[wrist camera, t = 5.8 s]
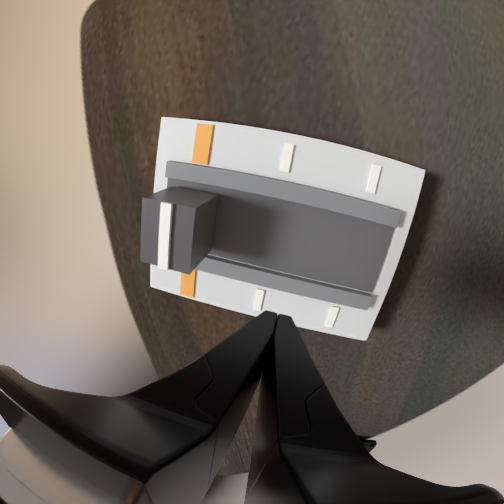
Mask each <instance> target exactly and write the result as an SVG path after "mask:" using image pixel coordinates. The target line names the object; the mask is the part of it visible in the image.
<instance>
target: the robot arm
mask: <svg viewBox="0 0 504 504" xmlns="http://www.w3.org/2000/svg"><path fill="white" fill-rule="evenodd" d="M264 365H265V366H264ZM262 372H263V373H262ZM261 376H262V378H261ZM260 379H261V384H260V392H259V400H258V408H257V416H256V424H255V431H254V439H253V446H252V454H251V461H250V468H249V475H248V482H247V488H246V496H245V502H244V504H503V503H504V497H503V496H502V494H500V493H499V492H498V491H497V490H496V489H494V488H491V487H489V486H486V485H484V484H474V485H469V486H463V487H450V486H443V485H439V484H435V483H432V482H429V481H426V480H423V479H420V478H417V477H414V476H411V475H408V474H406V473H403V472H400V471H398V470H395V469H392V468H390V467H387V466H385V465H383V464H381V463H380V462H378V461H377V460H376V459H374V458H373V457H372V456H371V454H370V453H369V452H370V451H371V450H372V449H373V448H374V447H375V446H376V441H375V440H364V439H359V438H358V437H357V435H356V434H355V432H354V431H353V429H352V428H351V427H350V425H349V424H348V422H347V421H346V419H345V418H344V416H343V415H342V413H341V411H340V410H339V408H338V407H337V405H336V403H335V401H334V400H333V398H332V396H331V394H330V392H329V390H328V388H327V386H326V385H325V382H324V380H323V379H322V377H321V375H320V373H319V371H318V369H317V367H316V365H315V363H314V361H313V359H312V357H311V355H310V353H309V351H308V349H307V347H306V345H305V343H304V341H303V339H302V337H301V335H300V333H299V331H298V329H297V327H296V325H295V323H294V321H293V319H292V317H291V316H288V315H284V314H278V315H277V313H275V312H271V311H267V310H265V311H264V312H262V313H261V314H259V315H258V316H257V317H255V318H254V319H253V320H251V321H250V322H249V323H247V324H246V325H244V326H243V327H242V328H240V329H239V330H238V331H236V332H235V333H233V334H232V335H231V336H229V337H228V338H226V339H225V340H223V341H222V342H221V343H219V344H218V345H216V346H215V347H214V348H212V349H211V350H209V351H208V352H206V353H205V354H204V355H202V356H200V357H199V358H197V359H196V360H194V361H193V362H191V363H190V364H188V365H186V366H185V367H183V368H182V369H180V370H178V371H176V372H174V373H172V374H170V375H168V376H166V377H164V378H162V379H160V380H158V381H156V382H153V383H151V384H149V385H147V386H145V387H143V388H140V389H138V390H136V391H134V392H131V393H129V394H126V395H122V396H116V397H106V396H98V395H89V394H83V393H76V392H69V391H64V390H58V389H53V388H49V387H45V386H41V385H39V384H36V383H34V382H31V381H29V380H28V379H26V378H24V377H23V376H22V375H20V374H19V373H18V372H17V371H15V370H14V369H12V368H11V367H9V366H5V365H0V414H1V416H2V417H3V419H4V420H5V421H6V423H7V424H8V426H9V427H10V428H9V429H8V430H7V432H6V433H5V434H4V435H3V436H2V438H1V439H0V504H201V502H202V500H203V498H204V496H205V494H206V493H207V490H208V489H209V487H210V485H211V483H212V481H213V479H214V477H215V475H216V473H217V471H218V469H219V467H220V465H221V463H222V461H223V459H224V457H225V455H226V453H227V451H228V449H229V447H230V445H231V443H232V441H233V439H234V436H235V434H236V432H237V430H238V428H239V426H240V424H241V421H242V419H243V417H244V415H245V413H246V411H247V408H248V406H249V404H250V402H251V400H252V397H253V395H254V393H255V391H256V388H257V386H258V384H259V381H260Z"/></svg>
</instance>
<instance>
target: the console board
mask: <svg viewBox="0 0 504 504" xmlns="http://www.w3.org/2000/svg"><path fill="white" fill-rule="evenodd" d="M424 175H425V170H423V169H421V168H418V167H415V166H412V165H409V164H406V163H403V162H400V161H396V160H393V159H390V158H387V157H384V156H380V155H377V154H373V153H370V152H366V151H363V150H359V149H355V148H352V147H348V146H344V145H340V144H336V143H332V142H328V141H323V140H319V139H314V138H310V137H305V136H300V135H296V134H290V133H285V132H280V131H274V130H269V129H263V128H257V127H250V126H244V125H237V124H229V123H221V122H213V121H204V120H194V119H182V118H169V117H162V119H161V126H160V134H159V142H158V151H157V160H156V171H155V182H154V193H156V192H158V191H161V190H163V189H166V188H169V187H172V186H175V187H180V188H186V189H191V190H197V191H202V192H207V193H213V194H218V201H217V209H216V216H215V224H214V232H213V240H212V248H211V252H210V253H209V254H208V255H207V256H206V257H205V258H204V259H203V260H202V261H201V263H200V264H199V265H198V266H197V267H196V268H195V269H194V270H193V271H192V273H191V274H190V275H188V274H185V273H181V272H178V271H174V270H170V269H169V270H168V271H167V270H163V269H160V268H158V266H156V265H153V264H151V266H150V287H153V288H157V289H160V290H163V291H166V292H170V293H173V294H176V295H180V296H183V297H186V298H190V299H193V300H197V301H200V302H204V303H207V304H211V305H214V306H218V307H222V308H225V309H229V310H233V311H237V312H240V313H244V314H248V315H252V316H256V317H257V316H258V315H259V314H261V313H262V312H264V311H265V310H267V311H271V312H275V313H277V315H278V314H284V315H288V316H291V317H292V319H293V321H294V323H295V325H296V326H297V327H302V328H306V329H311V330H315V331H320V332H324V333H329V334H334V335H339V336H343V337H348V338H353V339H359V340H364V341H366V339H367V337H368V335H369V333H370V331H371V328H372V326H373V324H374V322H375V319H376V317H377V315H378V313H379V310H380V308H381V305H382V303H383V301H384V298H385V296H386V293H387V291H388V288H389V286H390V283H391V281H392V278H393V275H394V273H395V270H396V267H397V264H398V262H399V259H400V256H401V253H402V250H403V247H404V244H405V241H406V238H407V235H408V232H409V229H410V226H411V222H412V219H413V216H414V212H415V209H416V205H417V202H418V198H419V194H420V191H421V187H422V183H423V179H424Z"/></svg>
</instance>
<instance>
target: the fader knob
mask: <svg viewBox="0 0 504 504" xmlns="http://www.w3.org/2000/svg"><path fill="white" fill-rule="evenodd" d="M217 201H218V194H213V193H207V192H202V191H197V190H191V189H186V188H180V187H175V186H172V187H169V188H166V189H163V190H161V191H158V192H156V193H153V194H150V195H148V196H145V197H143V198H142V218H141V261H142V262H146V263H149V264H153V265H156V266H158V268H160V269H163V270H167V271H168V270H169V269H170V270H174V271H178V272H181V273H185V274H188V275H190V274H191V273H192V271H193V270H194V269H195V268H196V267H197V266H198V265H199V264H200V263H201V261H202V260H203V259H204V258H205V257H206V256H207V255H208V254H209V253H210V252H211V248H212V240H213V232H214V224H215V216H216V209H217Z"/></svg>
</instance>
